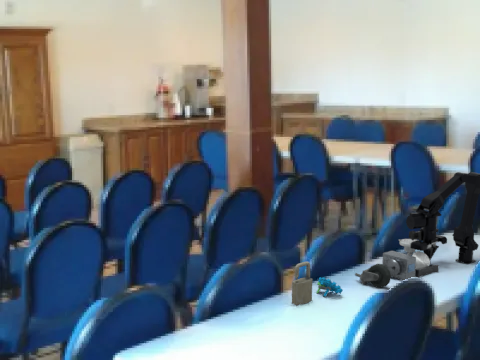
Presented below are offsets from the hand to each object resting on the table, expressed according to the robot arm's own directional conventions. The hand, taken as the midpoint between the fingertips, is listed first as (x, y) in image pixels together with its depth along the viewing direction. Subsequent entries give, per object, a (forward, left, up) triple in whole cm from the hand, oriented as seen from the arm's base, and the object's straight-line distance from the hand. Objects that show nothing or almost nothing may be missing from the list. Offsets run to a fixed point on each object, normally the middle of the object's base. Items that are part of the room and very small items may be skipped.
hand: (427, 261), depth 295 cm
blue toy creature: (+59, -3, -3) cm, 59 cm away
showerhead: (-9, -16, -2) cm, 18 cm away
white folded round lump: (+6, 0, -2) cm, 6 cm away
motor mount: (+14, 0, -2) cm, 14 cm away
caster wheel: (+37, 0, -3) cm, 38 cm away
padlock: (+72, -4, -2) cm, 73 cm away
